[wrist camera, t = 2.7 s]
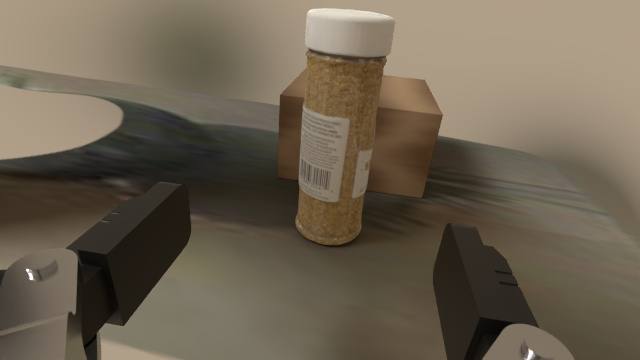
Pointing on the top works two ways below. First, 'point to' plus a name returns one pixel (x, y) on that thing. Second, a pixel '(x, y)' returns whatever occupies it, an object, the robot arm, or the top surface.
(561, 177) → the top surface
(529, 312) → the robot arm
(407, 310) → the top surface
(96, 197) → the top surface
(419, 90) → the block
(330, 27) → the sprinkles bottle
